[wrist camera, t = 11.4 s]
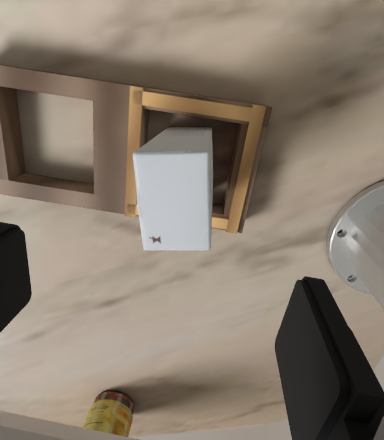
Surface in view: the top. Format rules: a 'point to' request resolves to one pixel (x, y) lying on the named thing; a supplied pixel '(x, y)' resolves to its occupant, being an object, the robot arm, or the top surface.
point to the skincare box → (175, 189)
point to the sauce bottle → (111, 414)
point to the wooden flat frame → (124, 142)
